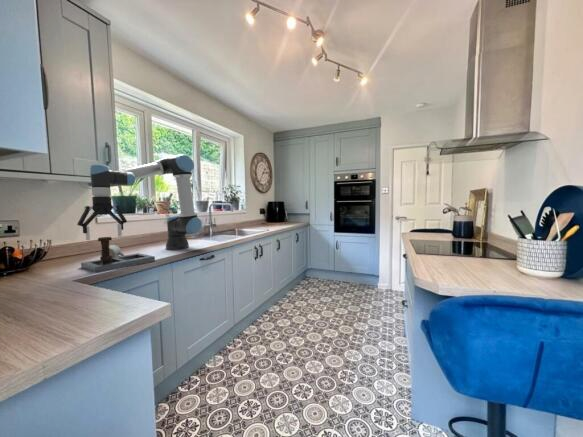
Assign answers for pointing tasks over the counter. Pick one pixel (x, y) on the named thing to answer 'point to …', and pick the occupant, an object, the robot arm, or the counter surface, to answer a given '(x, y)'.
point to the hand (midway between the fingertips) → (104, 238)
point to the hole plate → (117, 262)
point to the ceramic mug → (114, 251)
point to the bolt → (105, 249)
